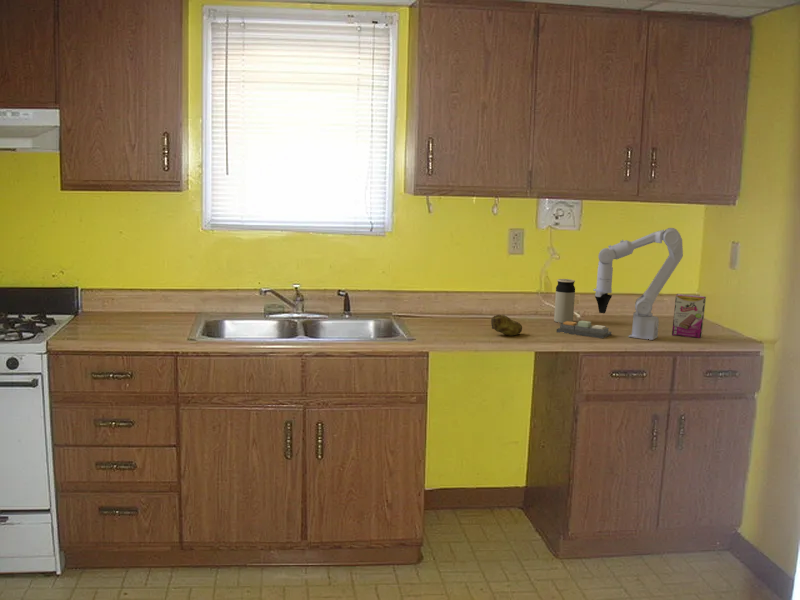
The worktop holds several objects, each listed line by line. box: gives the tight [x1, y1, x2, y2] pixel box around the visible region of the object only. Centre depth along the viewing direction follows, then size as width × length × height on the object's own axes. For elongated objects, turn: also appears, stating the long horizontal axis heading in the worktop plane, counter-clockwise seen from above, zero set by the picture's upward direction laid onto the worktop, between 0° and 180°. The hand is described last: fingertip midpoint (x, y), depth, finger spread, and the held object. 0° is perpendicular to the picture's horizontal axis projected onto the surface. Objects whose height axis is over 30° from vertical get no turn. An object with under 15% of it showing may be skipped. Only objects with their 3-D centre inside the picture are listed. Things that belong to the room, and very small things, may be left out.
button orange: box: [563, 321, 578, 326], centre depth 329 cm, size 4×4×2 cm
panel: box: [556, 322, 612, 339], centre depth 326 cm, size 19×10×3 cm, turn 58°
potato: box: [490, 314, 523, 336], centre depth 318 cm, size 8×13×8 cm, turn 95°
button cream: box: [592, 324, 606, 329], centre depth 323 cm, size 4×4×2 cm
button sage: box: [577, 320, 592, 327], centre depth 326 cm, size 4×4×2 cm
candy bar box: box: [671, 293, 707, 339], centre depth 327 cm, size 11×5×16 cm, turn 66°
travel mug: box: [553, 278, 576, 324], centre depth 348 cm, size 8×8×18 cm
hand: (602, 312), depth 325 cm, fingers closed
